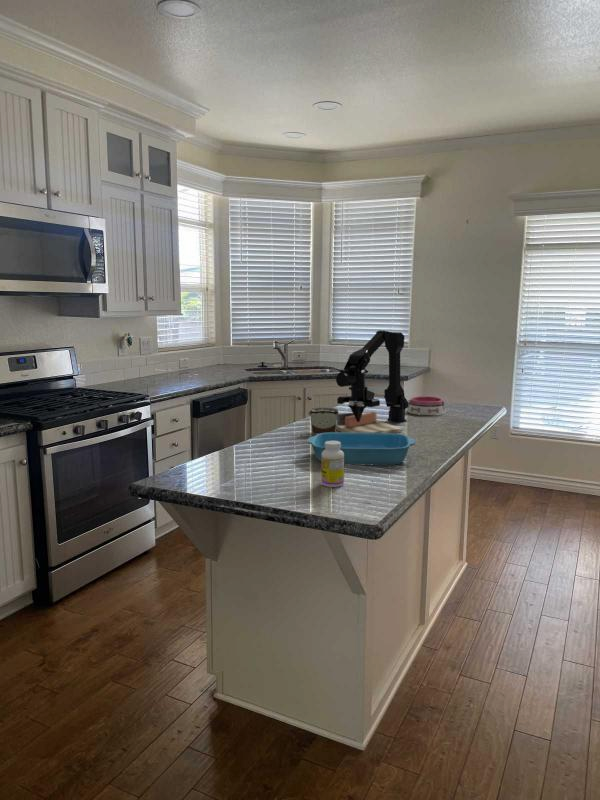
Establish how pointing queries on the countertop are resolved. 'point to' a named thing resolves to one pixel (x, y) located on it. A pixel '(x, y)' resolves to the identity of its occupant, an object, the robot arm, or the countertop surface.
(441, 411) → the dog bowl
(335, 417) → the food container
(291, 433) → the countertop surface
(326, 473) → the supplement bottle
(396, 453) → the casserole dish
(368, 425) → the latch board
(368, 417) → the latch bar
